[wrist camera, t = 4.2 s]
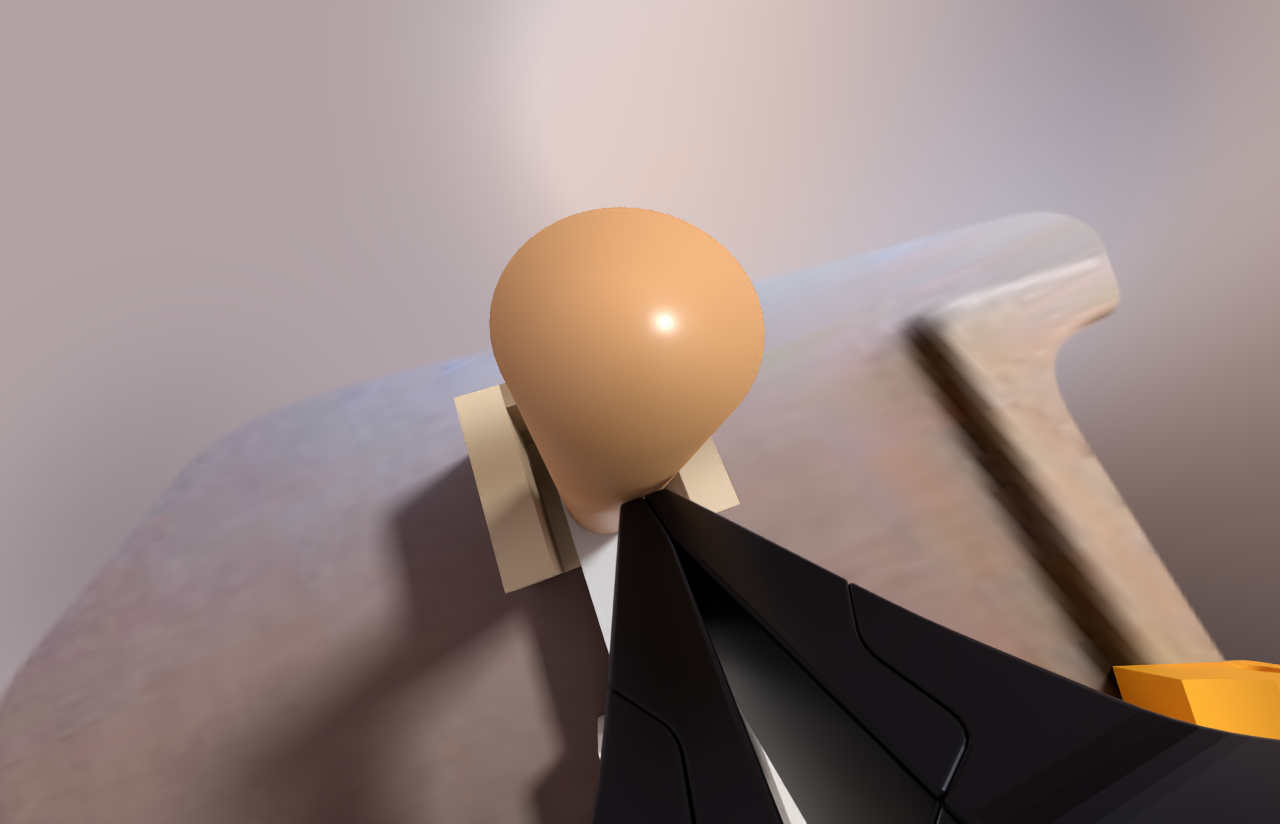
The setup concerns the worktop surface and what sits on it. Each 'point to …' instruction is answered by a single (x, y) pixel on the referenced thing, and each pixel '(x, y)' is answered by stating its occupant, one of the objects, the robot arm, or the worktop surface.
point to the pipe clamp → (1208, 694)
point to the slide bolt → (622, 361)
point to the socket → (547, 489)
